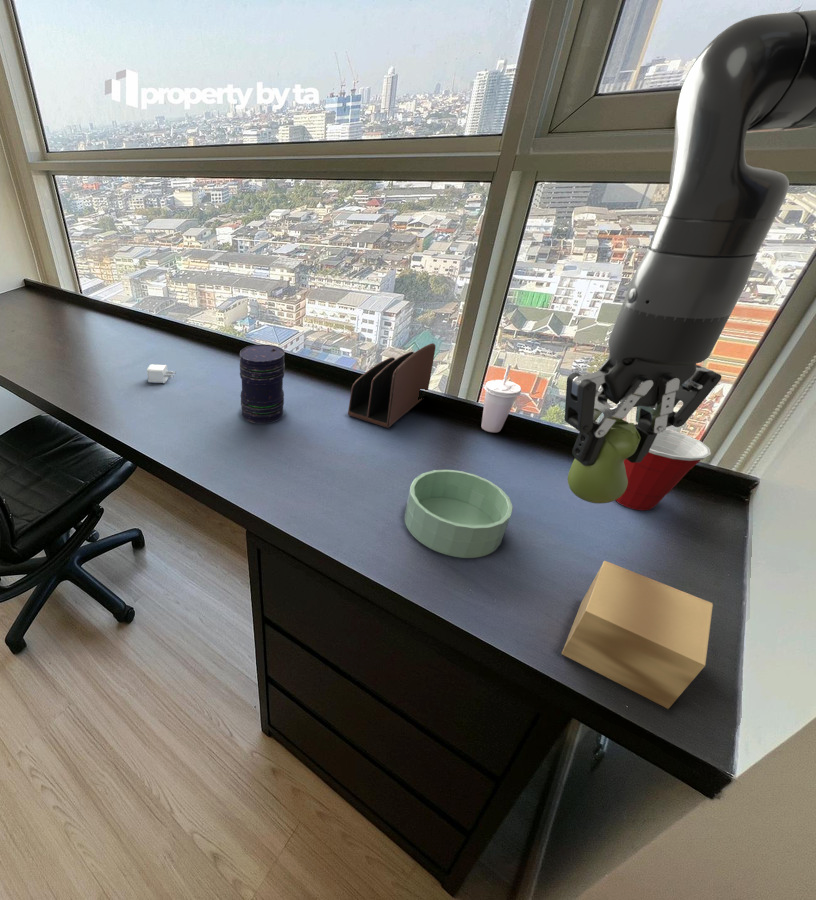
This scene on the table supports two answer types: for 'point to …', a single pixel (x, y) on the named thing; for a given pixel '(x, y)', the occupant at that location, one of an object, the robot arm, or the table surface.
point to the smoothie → (498, 402)
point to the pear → (606, 466)
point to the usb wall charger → (158, 373)
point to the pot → (457, 513)
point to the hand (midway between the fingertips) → (606, 459)
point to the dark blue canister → (262, 383)
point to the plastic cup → (661, 469)
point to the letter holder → (391, 387)
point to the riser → (641, 633)
